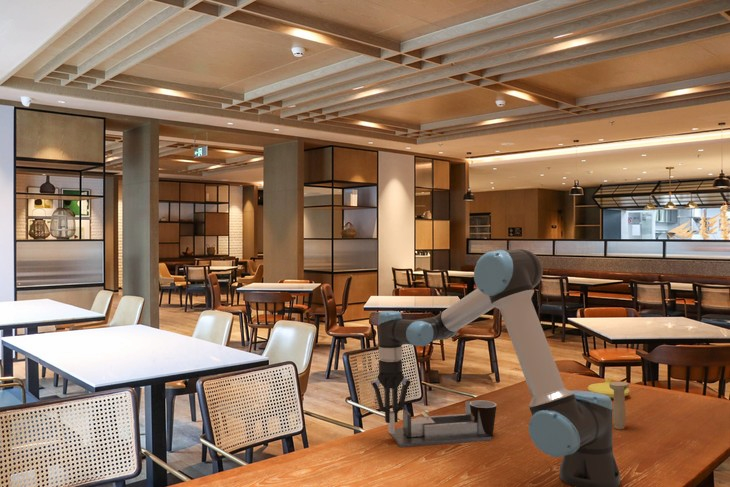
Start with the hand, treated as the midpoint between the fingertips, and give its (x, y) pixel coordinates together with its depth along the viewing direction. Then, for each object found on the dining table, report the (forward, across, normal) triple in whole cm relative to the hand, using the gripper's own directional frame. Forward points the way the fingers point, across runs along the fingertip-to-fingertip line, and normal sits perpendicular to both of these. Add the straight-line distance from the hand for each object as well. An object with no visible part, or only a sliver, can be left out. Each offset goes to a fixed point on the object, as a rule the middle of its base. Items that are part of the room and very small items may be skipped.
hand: (391, 432), depth 199 cm
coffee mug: (+2, -31, +1) cm, 31 cm away
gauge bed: (+2, -16, 0) cm, 16 cm away
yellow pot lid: (+3, -97, -32) cm, 102 cm away
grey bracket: (+1, -9, -3) cm, 10 cm away
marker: (+1, -14, -7) cm, 16 cm away
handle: (+3, -77, +7) cm, 77 cm away
